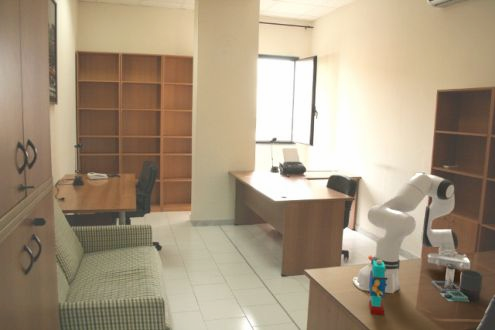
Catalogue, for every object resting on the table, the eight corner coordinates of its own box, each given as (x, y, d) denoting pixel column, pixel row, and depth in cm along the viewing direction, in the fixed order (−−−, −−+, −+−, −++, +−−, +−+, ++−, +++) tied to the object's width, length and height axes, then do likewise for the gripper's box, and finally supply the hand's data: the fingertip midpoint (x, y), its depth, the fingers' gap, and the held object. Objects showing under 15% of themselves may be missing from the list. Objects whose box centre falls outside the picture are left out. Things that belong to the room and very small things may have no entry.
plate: (448, 303, 190) (448, 297, 190) (439, 295, 198) (440, 290, 198) (469, 303, 191) (470, 298, 190) (459, 295, 199) (460, 290, 198)
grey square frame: (441, 293, 200) (441, 289, 200) (431, 284, 210) (431, 280, 210) (461, 293, 201) (462, 289, 200) (450, 285, 211) (450, 281, 210)
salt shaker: (446, 290, 203) (449, 266, 201) (441, 286, 207) (444, 263, 206) (455, 290, 203) (457, 266, 201) (450, 286, 207) (453, 263, 206)
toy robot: (384, 317, 174) (389, 259, 171) (369, 315, 175) (374, 258, 172) (381, 304, 185) (386, 250, 182) (367, 302, 186) (371, 249, 183)
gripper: (427, 248, 230) (428, 256, 218) (469, 255, 223) (471, 263, 210) (426, 259, 231) (426, 267, 219) (467, 266, 223) (470, 275, 211)
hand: (449, 265), depth 214 cm, fingers open, 8 cm apart
